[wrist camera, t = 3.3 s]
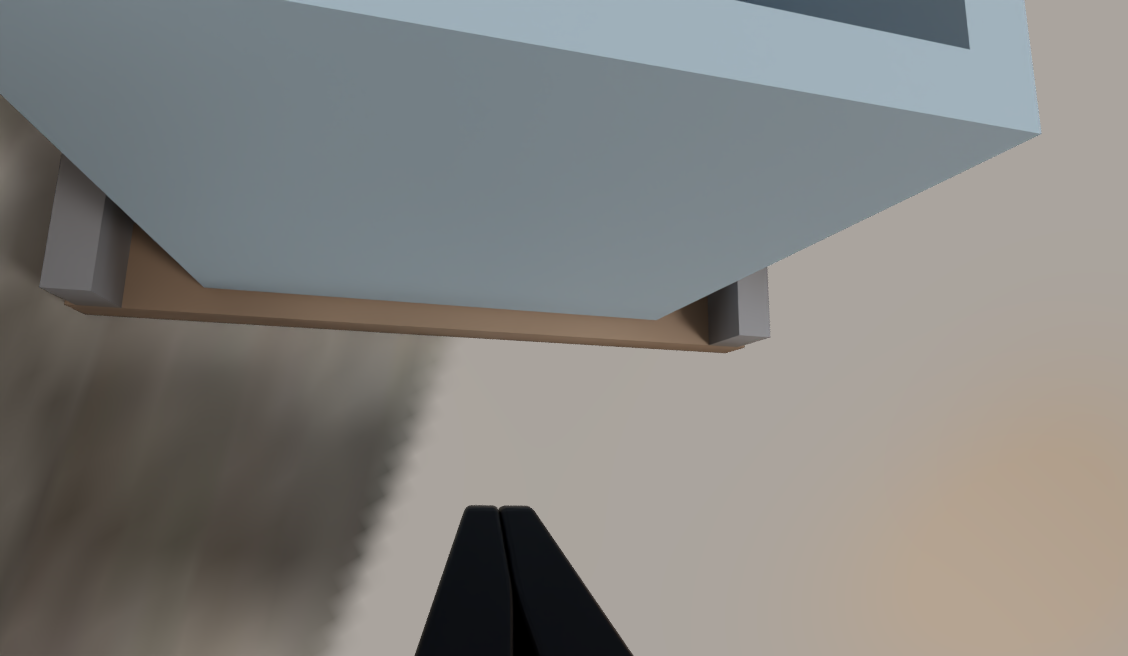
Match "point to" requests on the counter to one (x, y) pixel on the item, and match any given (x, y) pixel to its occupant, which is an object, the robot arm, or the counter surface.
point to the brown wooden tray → (167, 291)
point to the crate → (514, 134)
